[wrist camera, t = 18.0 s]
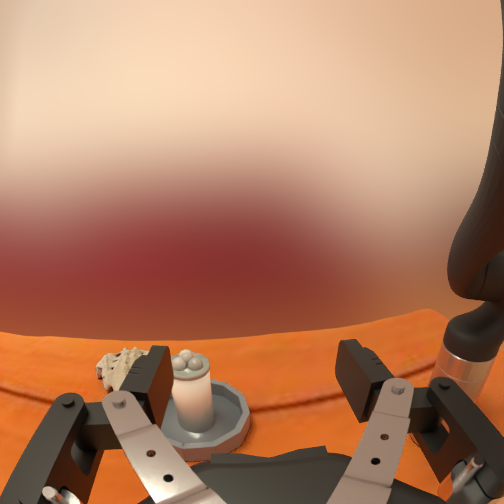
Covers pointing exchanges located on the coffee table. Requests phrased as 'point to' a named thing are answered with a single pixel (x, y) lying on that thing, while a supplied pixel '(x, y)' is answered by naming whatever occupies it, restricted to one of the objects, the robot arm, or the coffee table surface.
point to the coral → (117, 367)
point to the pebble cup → (192, 391)
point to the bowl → (220, 435)
